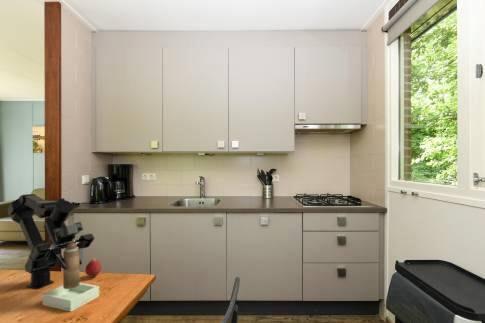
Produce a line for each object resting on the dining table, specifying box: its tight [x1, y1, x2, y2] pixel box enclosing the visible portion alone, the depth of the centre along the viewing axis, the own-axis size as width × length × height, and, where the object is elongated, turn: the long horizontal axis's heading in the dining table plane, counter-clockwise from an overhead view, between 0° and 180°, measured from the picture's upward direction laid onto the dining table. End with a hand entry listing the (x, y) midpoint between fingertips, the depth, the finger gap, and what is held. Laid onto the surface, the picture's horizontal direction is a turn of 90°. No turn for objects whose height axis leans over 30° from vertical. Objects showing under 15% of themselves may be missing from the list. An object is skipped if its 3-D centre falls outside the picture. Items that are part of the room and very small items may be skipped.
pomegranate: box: [85, 257, 102, 278], centre depth 115 cm, size 6×6×8 cm
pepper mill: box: [62, 242, 81, 289], centre depth 96 cm, size 5×5×15 cm
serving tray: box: [42, 282, 100, 312], centre depth 96 cm, size 13×11×4 cm
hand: (73, 266), depth 96 cm, fingers closed on pepper mill, 5 cm apart
